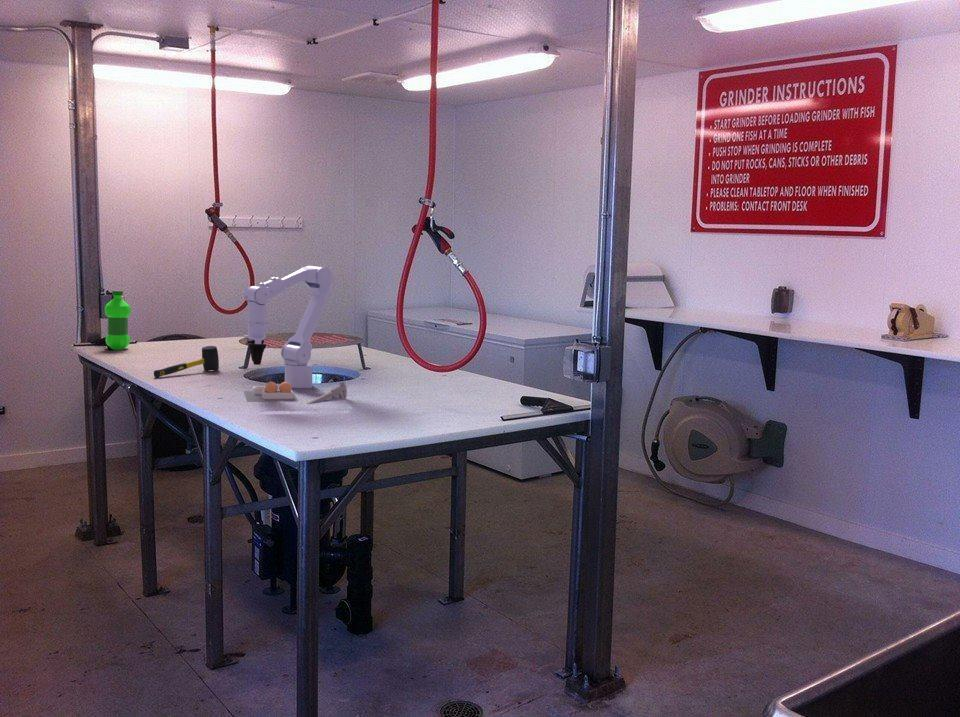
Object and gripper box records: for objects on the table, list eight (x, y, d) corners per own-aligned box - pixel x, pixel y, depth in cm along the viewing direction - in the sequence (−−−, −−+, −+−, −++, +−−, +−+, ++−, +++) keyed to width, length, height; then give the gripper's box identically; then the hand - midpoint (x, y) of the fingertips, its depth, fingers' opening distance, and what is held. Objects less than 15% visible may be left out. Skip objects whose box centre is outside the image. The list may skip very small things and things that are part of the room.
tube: (265, 392, 295) (265, 386, 295) (266, 394, 291) (267, 388, 291) (252, 392, 294) (253, 386, 293) (253, 394, 290) (253, 388, 289)
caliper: (343, 399, 297) (344, 380, 296) (346, 399, 296) (347, 381, 295) (303, 408, 279) (304, 388, 278) (306, 408, 278) (306, 388, 277)
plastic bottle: (135, 349, 381) (135, 291, 378) (112, 351, 373) (112, 291, 370) (122, 346, 388) (122, 289, 384) (100, 348, 379) (99, 290, 376)
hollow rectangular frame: (291, 396, 290) (292, 390, 290) (293, 398, 286) (293, 392, 286) (261, 396, 287) (262, 390, 287) (263, 399, 283) (263, 392, 283)
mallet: (161, 379, 314) (161, 353, 313) (149, 377, 317) (149, 351, 316) (222, 371, 339) (222, 346, 338) (211, 369, 342) (211, 344, 341)
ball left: (290, 392, 290) (291, 380, 289) (292, 395, 286) (292, 382, 285) (278, 392, 288) (278, 380, 288) (279, 395, 284) (279, 382, 284)
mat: (292, 393, 300) (292, 390, 300) (298, 404, 283) (298, 401, 283) (243, 394, 295) (243, 391, 294) (247, 404, 278) (247, 401, 278)
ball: (276, 392, 288) (277, 380, 288) (278, 395, 284) (278, 382, 284) (264, 393, 287) (264, 380, 286) (265, 395, 283) (265, 383, 283)
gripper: (243, 319, 299) (242, 359, 301) (245, 324, 285) (245, 366, 287) (264, 320, 301) (263, 359, 303) (268, 325, 288) (267, 366, 290)
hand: (256, 362), depth 295 cm, fingers open, 7 cm apart
